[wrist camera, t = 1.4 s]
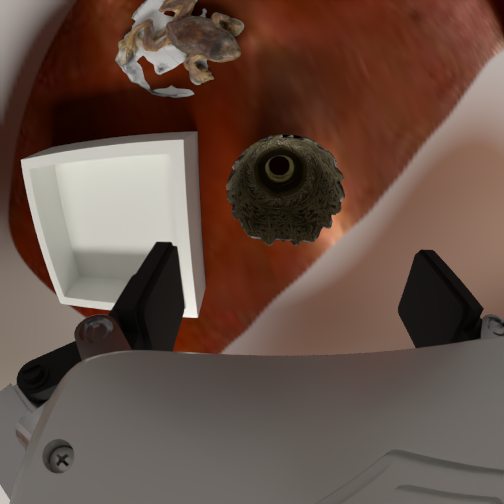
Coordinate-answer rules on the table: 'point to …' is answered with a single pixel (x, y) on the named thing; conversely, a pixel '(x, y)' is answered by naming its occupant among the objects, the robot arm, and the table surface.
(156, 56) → the frog figurine
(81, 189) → the bin
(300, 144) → the embossed bronze vase
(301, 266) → the table surface
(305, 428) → the robot arm
